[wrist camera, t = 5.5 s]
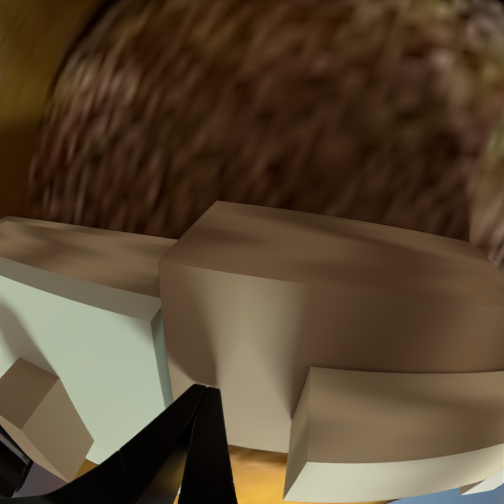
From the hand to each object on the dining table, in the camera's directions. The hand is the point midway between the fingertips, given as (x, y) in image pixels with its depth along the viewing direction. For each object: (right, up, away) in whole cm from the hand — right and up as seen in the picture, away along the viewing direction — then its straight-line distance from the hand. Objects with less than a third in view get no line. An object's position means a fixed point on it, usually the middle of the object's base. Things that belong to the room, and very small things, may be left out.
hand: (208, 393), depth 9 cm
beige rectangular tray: (-2, -1, +8) cm, 8 cm away
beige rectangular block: (+7, -1, -1) cm, 7 cm away
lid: (-9, -3, +5) cm, 11 cm away
